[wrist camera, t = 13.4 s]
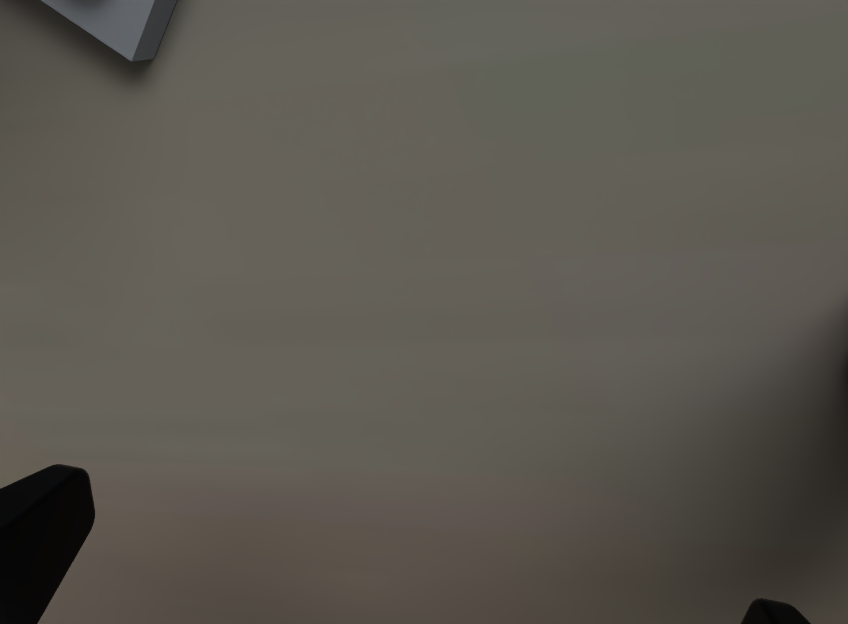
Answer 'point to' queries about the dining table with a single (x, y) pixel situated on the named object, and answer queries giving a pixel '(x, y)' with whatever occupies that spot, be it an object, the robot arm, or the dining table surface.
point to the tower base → (121, 23)
